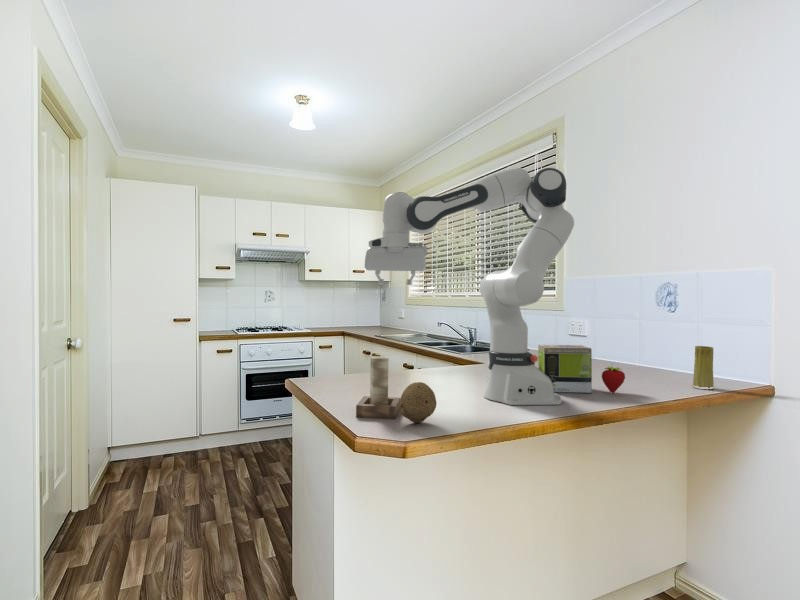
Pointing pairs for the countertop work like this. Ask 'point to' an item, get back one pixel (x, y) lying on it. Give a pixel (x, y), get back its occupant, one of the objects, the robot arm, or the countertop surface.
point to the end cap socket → (377, 408)
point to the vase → (703, 367)
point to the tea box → (567, 367)
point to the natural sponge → (417, 402)
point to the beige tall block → (379, 380)
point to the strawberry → (613, 378)
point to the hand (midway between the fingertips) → (395, 284)
